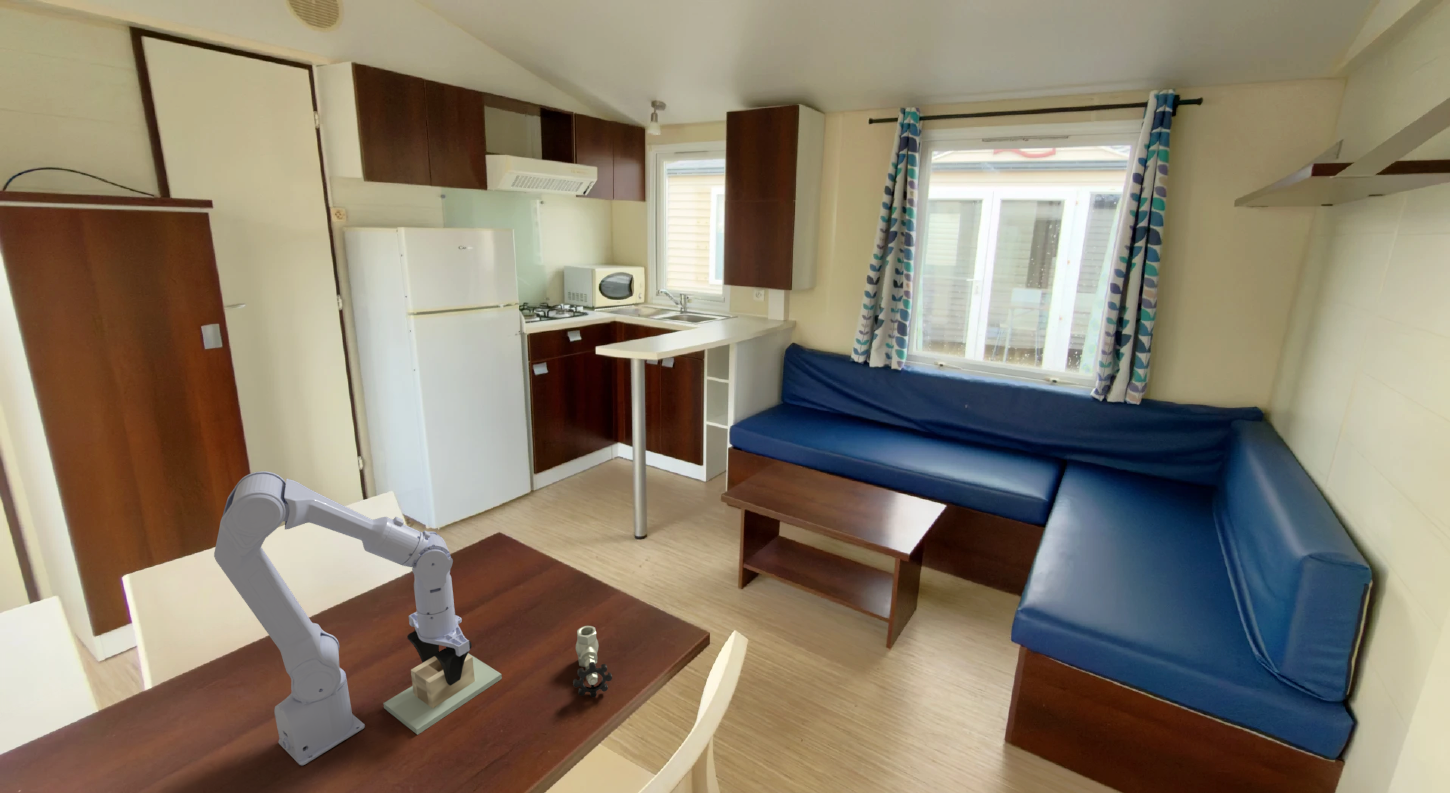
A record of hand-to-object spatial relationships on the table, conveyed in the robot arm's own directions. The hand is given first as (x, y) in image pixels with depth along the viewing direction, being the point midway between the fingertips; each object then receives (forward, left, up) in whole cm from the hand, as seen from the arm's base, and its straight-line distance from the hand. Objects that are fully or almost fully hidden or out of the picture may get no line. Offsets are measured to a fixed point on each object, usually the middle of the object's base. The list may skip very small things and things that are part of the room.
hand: (442, 673), depth 109 cm
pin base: (0, 0, -4) cm, 4 cm away
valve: (+18, -17, -4) cm, 25 cm away
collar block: (0, 0, -3) cm, 3 cm away
